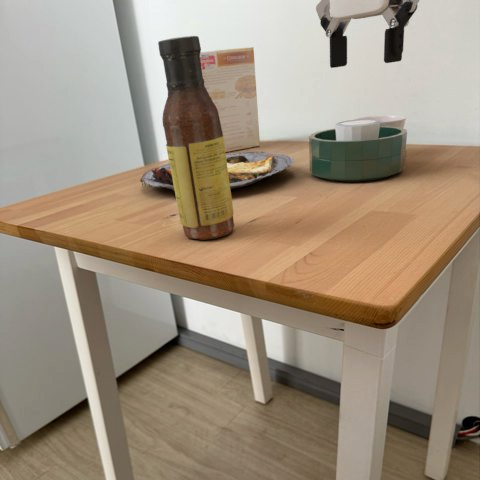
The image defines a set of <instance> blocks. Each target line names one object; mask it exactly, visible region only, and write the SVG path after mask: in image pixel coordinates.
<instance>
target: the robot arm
mask: <svg viewBox="0 0 480 480" xmlns="http://www.w3.org/2000/svg"><path fill="white" fill-rule="evenodd" d="M419 2H420V0H319V2H318V3H317V4H316V6H315V10H316V13H317V16H318V19H319V21H320V27H321V28H322V29H323V30H324V32H325V36H326V38H329V67H330V68H331V69H335V68H341V67H346V66H347V65H348V35H344V34H345V32H346V30H347V28H348V26H349V24H350V22H351V21H352V20H359V19H360V20H361V19H367V18H373V17H378V16H382V17H383V19H384V21H385V22H386V23H387V25H388V27H389V28H385V30H384V41H383V42H384V43H383V44H384V45H383V46H384V47H383V50H384V51H383V62H384V63H385V64H390V63H396V62H401V61H402V59H403V52H404V43H405V42H404V41H405V28H406V27H408V25H409V24H410V20H411V18H412V17H413V15H414V14H415V12H416V11H417V10H418V3H419Z"/></svg>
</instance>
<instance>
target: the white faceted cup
mask: <svg viewBox="0 0 480 480" xmlns="http://www.w3.org/2000/svg"><path fill="white" fill-rule="evenodd" d="M380 123H381V121H378V120H370V119H361V120H354V119H350V120H344V121H339V122H336V123H335V124H334V129H335V130H336V141H352V140H368V139H378V137H379V130H380Z"/></svg>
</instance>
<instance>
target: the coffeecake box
mask: <svg viewBox="0 0 480 480" xmlns="http://www.w3.org/2000/svg"><path fill="white" fill-rule="evenodd" d="M200 61H201V68H202V76H203V79H204V86H205V88H206V90H207V92H208V94H209V96H210V97H211V99H212V101H213V103H214V104H215V106H216V108H217V110H218V114H219V119H220V123H221V128H222V132H223V138H224V146H225V153H229V152H230V153H231V152H235V151H240V150H245V149H250V148H255V147H260V146H261V140H260V139H261V138H260V125H259V124H260V123H259V110H258V95H257V80H256V65H255V51H254V47H253V46H252V47H239V48H225V49H215V50H205V51H201V52H200Z"/></svg>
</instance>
